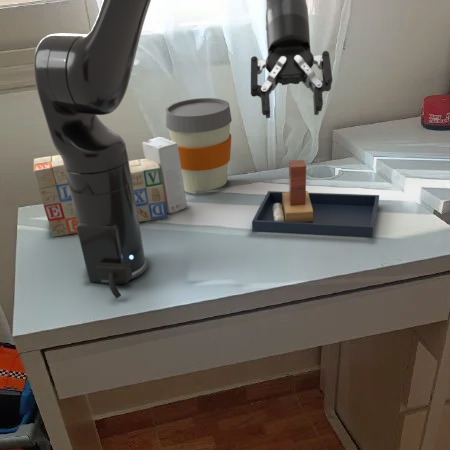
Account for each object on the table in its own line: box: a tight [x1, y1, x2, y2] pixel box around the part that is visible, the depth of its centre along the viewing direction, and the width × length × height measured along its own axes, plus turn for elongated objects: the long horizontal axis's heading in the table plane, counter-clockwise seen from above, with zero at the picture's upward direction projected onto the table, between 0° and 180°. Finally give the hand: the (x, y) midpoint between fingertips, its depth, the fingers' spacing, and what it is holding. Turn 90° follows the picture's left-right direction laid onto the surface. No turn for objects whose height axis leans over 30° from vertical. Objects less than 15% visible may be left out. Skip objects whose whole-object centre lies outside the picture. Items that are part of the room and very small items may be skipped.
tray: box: [251, 190, 380, 239], centre depth 106 cm, size 13×20×3 cm, turn 75°
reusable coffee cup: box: [165, 97, 233, 195], centre depth 119 cm, size 13×12×15 cm
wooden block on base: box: [282, 159, 313, 223], centre depth 104 cm, size 9×5×9 cm, turn 0°
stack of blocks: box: [33, 154, 168, 238], centre depth 109 cm, size 21×6×12 cm, turn 103°
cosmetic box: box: [141, 136, 188, 214], centre depth 112 cm, size 6×4×12 cm
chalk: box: [273, 203, 285, 221], centre depth 106 cm, size 7×2×2 cm
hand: (292, 114), depth 106 cm, fingers open, 8 cm apart
